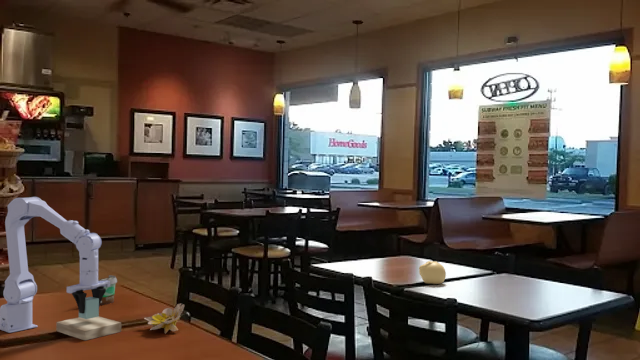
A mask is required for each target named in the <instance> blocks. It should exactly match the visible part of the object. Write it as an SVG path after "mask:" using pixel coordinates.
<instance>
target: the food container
mask: <svg viewBox="0 0 640 360" xmlns="http://www.w3.org/2000/svg"><path fill="white" fill-rule="evenodd" d="M106 280H108V281H110V287H104V288H105V289H106V292H105V294H104V295H103V297H102V300H101V303H100V306H103V305H104V304H106V305H111V304H113V303H114V302H115V293H116V292H115V291H116V284H117V283H118V279H117V277H116V275H112V274H110V275H108V277H106V278H100V279H98V281H106ZM110 303H111V304H110Z"/></svg>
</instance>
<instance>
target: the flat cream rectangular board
mask: <svg viewBox="0 0 640 360" xmlns="http://www.w3.org/2000/svg"><path fill="white" fill-rule="evenodd" d="M55 326H56V329H55V330H56V332H58V333H62V334H64V335H67V336H69V337H73V338H76V339H79V340H83V341H88V340H93V339H98V338H100V337H104V336H105V337H106V336H109V335H113V334H116V333H121V332H122V322H121V321H116V320H114V319H109V318H106V317H102V316H99V317H94V318H90V319H84V318H80V317H79V316H78V317H75V318H69V319H65V320H60V321H56V324H55Z"/></svg>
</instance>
